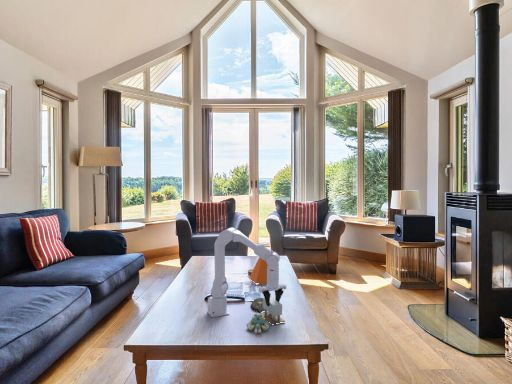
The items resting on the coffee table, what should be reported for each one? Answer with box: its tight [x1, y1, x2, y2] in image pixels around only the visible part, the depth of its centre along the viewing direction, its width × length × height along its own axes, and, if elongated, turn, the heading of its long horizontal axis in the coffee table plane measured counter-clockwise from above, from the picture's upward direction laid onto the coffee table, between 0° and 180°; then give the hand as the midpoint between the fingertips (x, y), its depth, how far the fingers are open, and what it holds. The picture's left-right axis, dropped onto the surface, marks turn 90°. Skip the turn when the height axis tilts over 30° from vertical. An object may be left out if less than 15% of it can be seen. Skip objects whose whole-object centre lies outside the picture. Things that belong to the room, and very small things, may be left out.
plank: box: [262, 295, 283, 316], centre depth 162 cm, size 4×12×5 cm, turn 25°
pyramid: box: [248, 256, 268, 285], centre depth 224 cm, size 16×16×20 cm
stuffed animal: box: [246, 313, 271, 334], centre depth 151 cm, size 11×7×12 cm
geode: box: [250, 297, 265, 313], centre depth 179 cm, size 19×4×15 cm
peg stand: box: [259, 310, 286, 325], centre depth 162 cm, size 7×13×4 cm, turn 25°
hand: (272, 304), depth 162 cm, fingers open, 4 cm apart
